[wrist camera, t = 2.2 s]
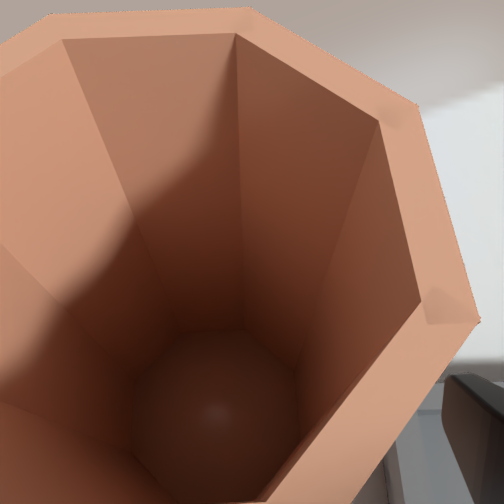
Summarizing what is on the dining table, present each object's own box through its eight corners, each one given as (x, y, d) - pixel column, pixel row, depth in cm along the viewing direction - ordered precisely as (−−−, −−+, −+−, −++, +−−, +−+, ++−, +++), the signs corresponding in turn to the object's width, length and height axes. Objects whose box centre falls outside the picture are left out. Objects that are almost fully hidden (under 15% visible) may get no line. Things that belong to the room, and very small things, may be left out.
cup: (321, 514, 15) (553, 561, 4) (115, 528, 15) (-345, 625, 3) (299, 320, 18) (388, 0, 6) (128, 329, 18) (-96, 18, 6)
